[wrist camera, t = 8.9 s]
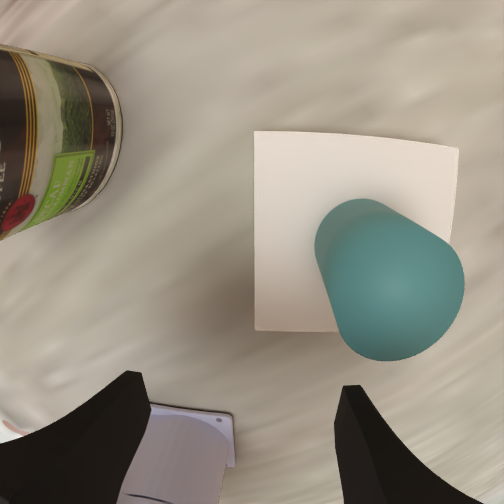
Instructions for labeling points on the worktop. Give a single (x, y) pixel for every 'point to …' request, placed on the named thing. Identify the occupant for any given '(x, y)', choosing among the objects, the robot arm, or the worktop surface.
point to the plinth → (327, 198)
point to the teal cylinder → (387, 280)
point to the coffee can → (52, 136)
